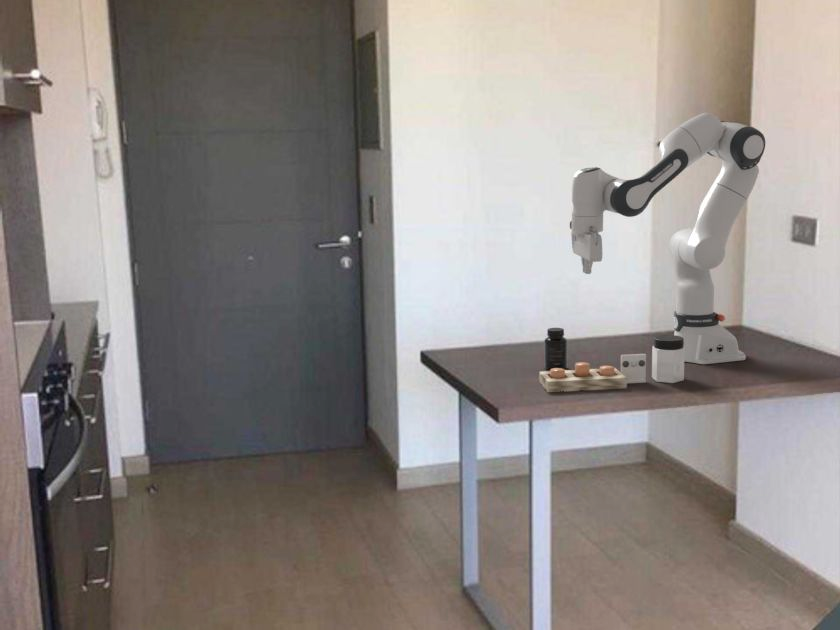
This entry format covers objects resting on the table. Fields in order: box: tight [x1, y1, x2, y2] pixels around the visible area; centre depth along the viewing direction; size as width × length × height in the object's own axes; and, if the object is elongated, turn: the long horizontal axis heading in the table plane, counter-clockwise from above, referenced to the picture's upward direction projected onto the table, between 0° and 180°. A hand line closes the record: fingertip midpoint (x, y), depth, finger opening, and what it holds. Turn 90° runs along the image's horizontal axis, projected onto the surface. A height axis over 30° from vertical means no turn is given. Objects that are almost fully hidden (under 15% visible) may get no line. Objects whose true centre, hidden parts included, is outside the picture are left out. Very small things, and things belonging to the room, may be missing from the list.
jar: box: [651, 334, 685, 384], centre depth 278 cm, size 9×8×12 cm
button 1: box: [549, 368, 566, 379], centre depth 275 cm, size 4×4×3 cm
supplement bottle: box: [543, 327, 568, 371], centre depth 293 cm, size 7×7×12 cm
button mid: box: [574, 361, 591, 376], centre depth 275 cm, size 4×4×3 cm
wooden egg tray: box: [538, 367, 628, 393], centre depth 276 cm, size 22×11×3 cm, turn 95°
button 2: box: [599, 365, 615, 376], centre depth 276 cm, size 4×4×3 cm
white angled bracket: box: [620, 353, 647, 384], centre depth 277 cm, size 7×3×8 cm, turn 95°
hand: (587, 273), depth 285 cm, fingers closed
